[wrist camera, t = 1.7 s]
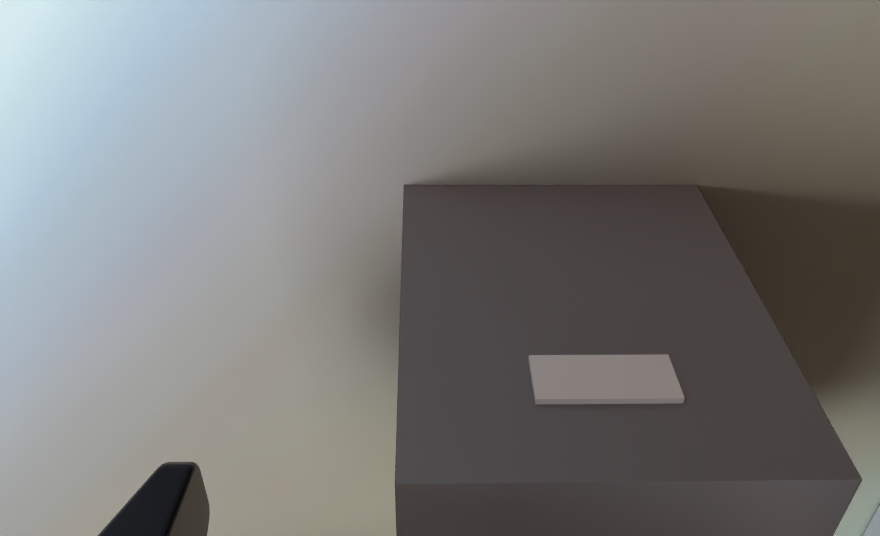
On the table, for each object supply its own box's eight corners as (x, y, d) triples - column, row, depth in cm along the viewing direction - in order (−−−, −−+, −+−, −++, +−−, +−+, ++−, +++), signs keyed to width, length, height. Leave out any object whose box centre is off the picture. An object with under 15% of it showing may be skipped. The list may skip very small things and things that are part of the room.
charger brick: (408, 432, 14) (403, 751, 9) (403, 178, 11) (395, 487, 6) (636, 430, 14) (728, 744, 10) (696, 178, 11) (869, 481, 7)
